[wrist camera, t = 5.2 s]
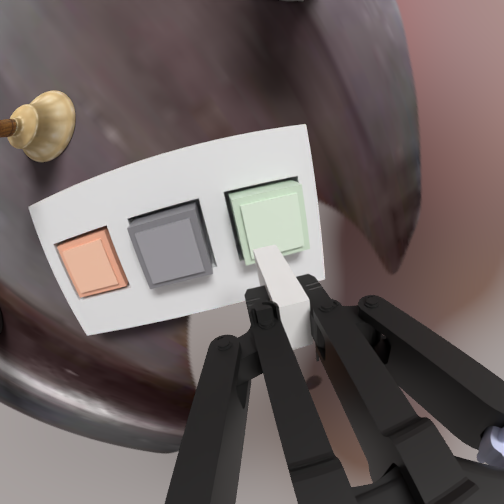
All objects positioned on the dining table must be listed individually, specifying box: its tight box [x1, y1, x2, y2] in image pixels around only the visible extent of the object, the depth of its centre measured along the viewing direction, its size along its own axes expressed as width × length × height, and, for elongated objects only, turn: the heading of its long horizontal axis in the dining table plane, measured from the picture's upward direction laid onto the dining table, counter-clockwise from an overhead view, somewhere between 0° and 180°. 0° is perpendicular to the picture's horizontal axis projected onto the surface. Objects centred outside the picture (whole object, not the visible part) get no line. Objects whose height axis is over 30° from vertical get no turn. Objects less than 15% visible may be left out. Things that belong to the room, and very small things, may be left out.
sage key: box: [228, 179, 310, 265], centre depth 24 cm, size 6×6×3 cm
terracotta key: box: [57, 225, 128, 298], centre depth 25 cm, size 6×6×3 cm
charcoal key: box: [127, 201, 213, 289], centre depth 24 cm, size 6×6×3 cm
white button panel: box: [28, 124, 325, 336], centre depth 26 cm, size 28×16×5 cm, turn 101°
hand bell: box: [0, 91, 75, 162], centre depth 14 cm, size 8×8×16 cm
